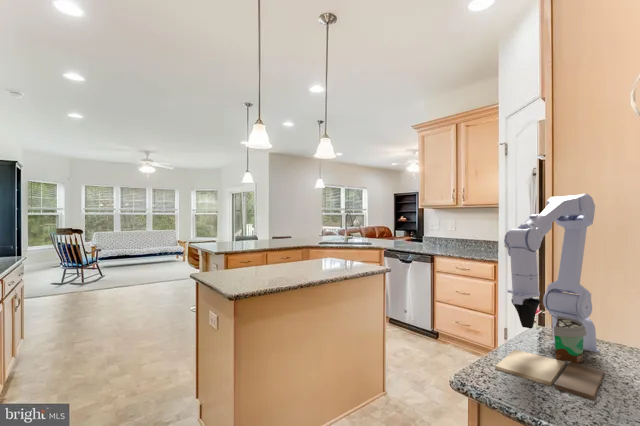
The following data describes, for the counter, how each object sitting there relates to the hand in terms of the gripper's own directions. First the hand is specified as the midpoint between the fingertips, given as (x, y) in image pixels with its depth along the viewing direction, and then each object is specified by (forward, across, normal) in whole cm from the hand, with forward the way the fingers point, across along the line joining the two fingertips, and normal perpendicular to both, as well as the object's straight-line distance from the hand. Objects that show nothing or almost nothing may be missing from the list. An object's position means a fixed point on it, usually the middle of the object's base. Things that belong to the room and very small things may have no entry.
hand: (527, 327), depth 80 cm
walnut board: (+9, +5, +11) cm, 15 cm away
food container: (+9, -7, +8) cm, 14 cm away
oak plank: (+9, +5, +2) cm, 10 cm away
